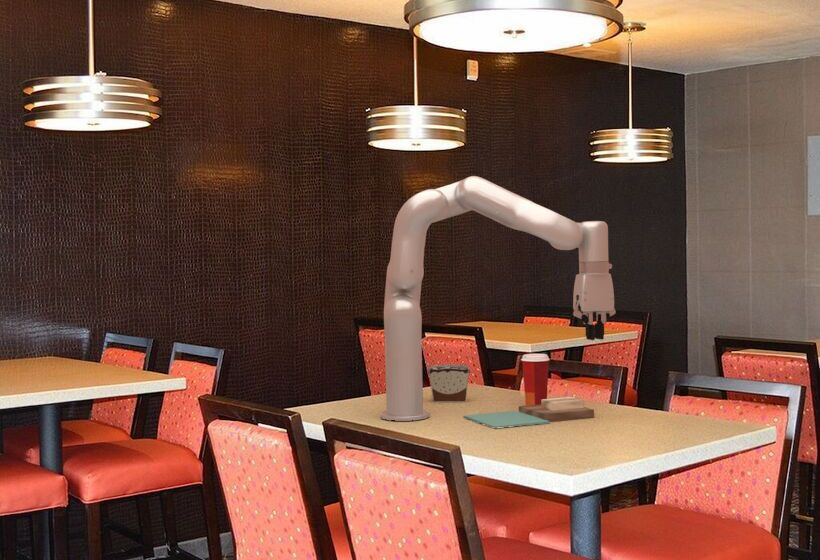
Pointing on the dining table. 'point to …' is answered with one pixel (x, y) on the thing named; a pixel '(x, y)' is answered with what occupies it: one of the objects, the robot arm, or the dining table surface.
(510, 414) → the mat
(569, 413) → the block
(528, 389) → the paper cup
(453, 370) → the food container
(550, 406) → the beige flat block
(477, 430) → the dining table surface
